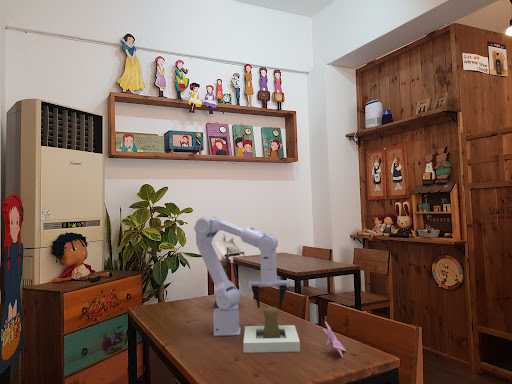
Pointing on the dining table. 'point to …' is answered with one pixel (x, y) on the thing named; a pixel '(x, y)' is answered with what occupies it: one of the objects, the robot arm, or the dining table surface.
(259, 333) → the slot box
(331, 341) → the lily
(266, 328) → the cork
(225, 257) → the bird statue
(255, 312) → the dining table surface
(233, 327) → the robot arm
